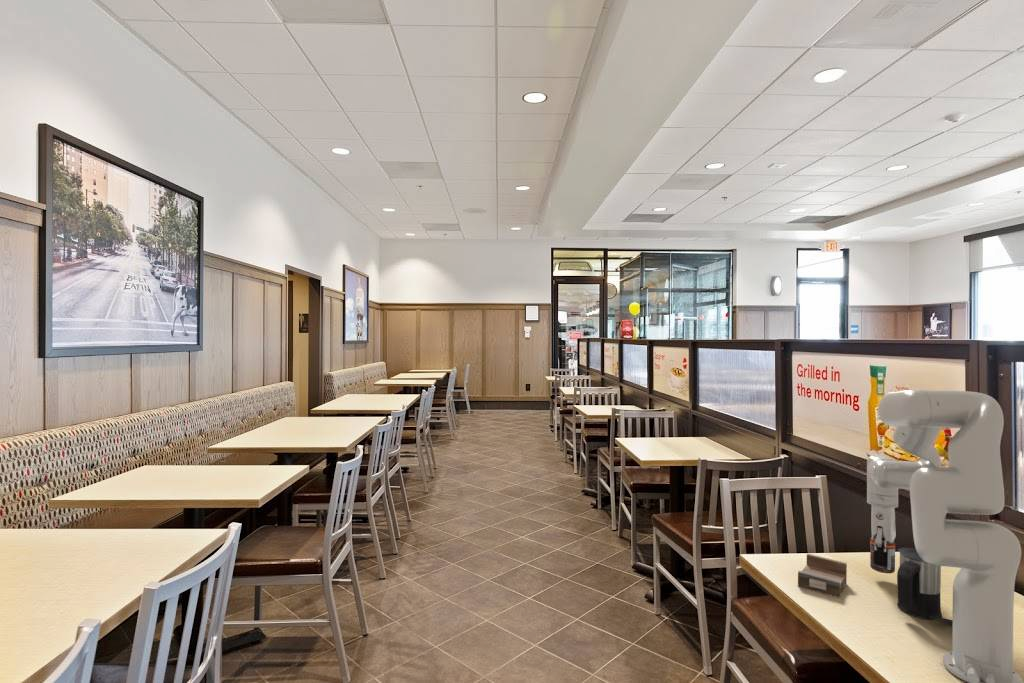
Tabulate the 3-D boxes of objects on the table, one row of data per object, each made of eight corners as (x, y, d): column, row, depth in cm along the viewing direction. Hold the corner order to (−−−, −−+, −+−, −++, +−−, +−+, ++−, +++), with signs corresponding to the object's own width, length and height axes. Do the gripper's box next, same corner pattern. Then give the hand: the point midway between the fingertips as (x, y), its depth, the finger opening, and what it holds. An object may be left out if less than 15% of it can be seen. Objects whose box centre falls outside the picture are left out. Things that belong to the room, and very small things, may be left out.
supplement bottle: (865, 567, 157) (865, 529, 157) (878, 564, 159) (878, 526, 159) (887, 575, 151) (887, 535, 151) (899, 572, 154) (899, 532, 154)
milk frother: (899, 598, 144) (899, 544, 144) (976, 619, 134) (977, 560, 134) (893, 619, 133) (893, 560, 133) (976, 643, 123) (977, 579, 123)
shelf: (838, 598, 144) (838, 576, 144) (797, 586, 151) (797, 565, 151) (846, 584, 153) (846, 563, 153) (807, 573, 159) (807, 553, 159)
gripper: (894, 507, 147) (894, 574, 146) (901, 496, 160) (901, 556, 159) (862, 502, 152) (862, 566, 151) (871, 491, 165) (871, 550, 164)
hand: (882, 561), depth 155 cm, fingers closed on supplement bottle, 5 cm apart
